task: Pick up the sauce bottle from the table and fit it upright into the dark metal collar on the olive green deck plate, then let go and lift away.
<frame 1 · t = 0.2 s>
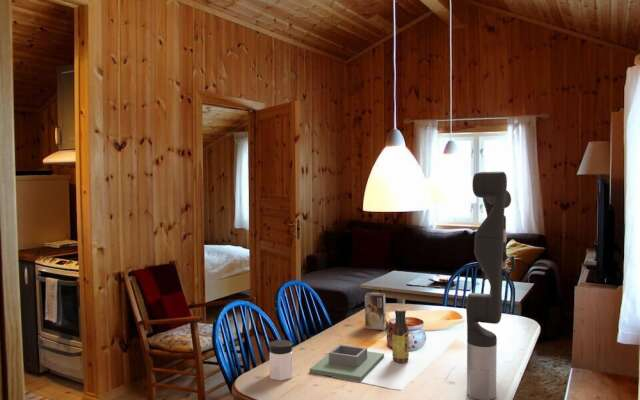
hand: (496, 280, 213), 29 cm above the table, tool pointing down, fingers open, 8 cm apart
jar: (281, 376, 191), on the table
deck plate: (348, 364, 202), on the table
sauce bottle: (400, 361, 205), on the table
coffee box: (375, 328, 249), on the table
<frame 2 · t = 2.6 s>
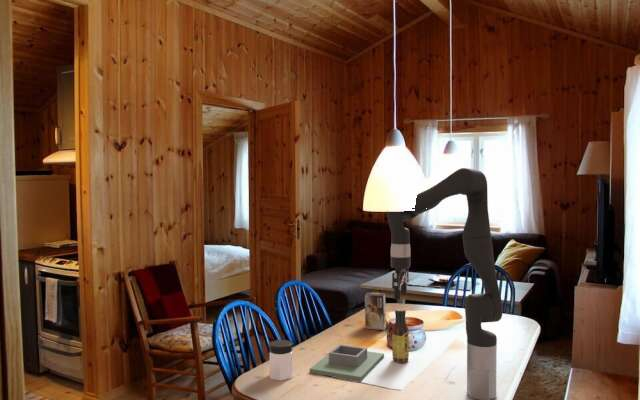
hand: (400, 296, 204), 25 cm above the table, tool pointing down, fingers open, 8 cm apart
nothing on the table moved.
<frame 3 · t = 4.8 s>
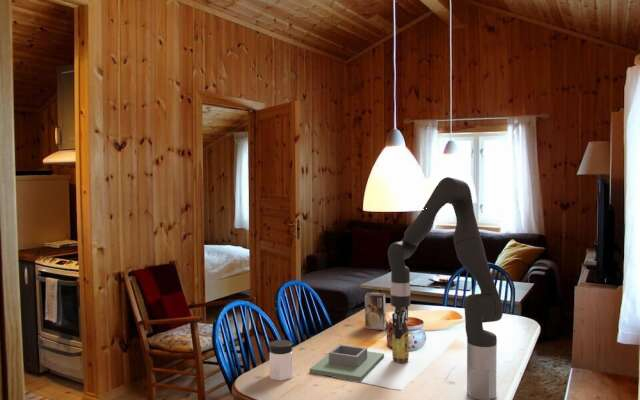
hand: (400, 336, 205), 10 cm above the table, tool pointing down, fingers closed on sauce bottle, 6 cm apart
sauce bottle: (400, 361, 205), on the table, touching gripper
everything else where it was.
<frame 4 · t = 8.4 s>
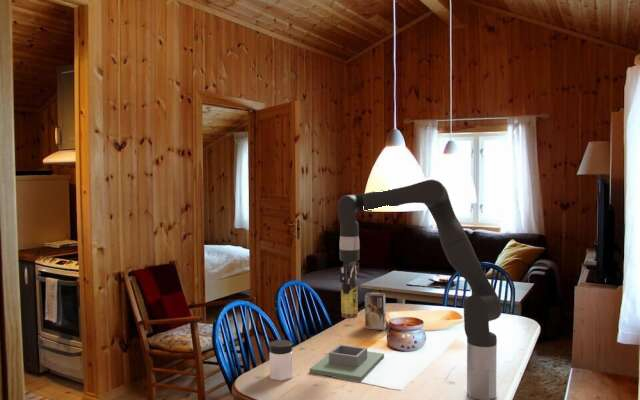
hand: (349, 291, 201), 28 cm above the table, tool pointing down, fingers closed on sauce bottle, 6 cm apart
sauce bottle: (349, 317, 201), point 18 cm above the table, touching gripper
everything else where it was.
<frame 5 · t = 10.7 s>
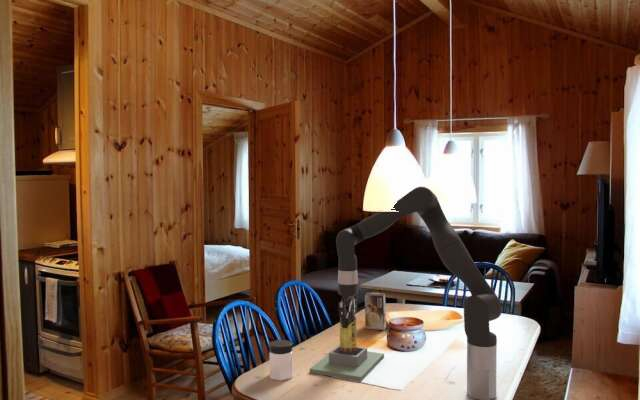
hand: (348, 325, 201), 15 cm above the table, tool pointing down, fingers closed on sauce bottle, 6 cm apart
sauce bottle: (348, 351, 201), point 5 cm above the table, touching gripper
everything else where it was.
when the fingers open (12 cm above the table, at t = 12.3 s): sauce bottle drops 1 cm, resting on deck plate.
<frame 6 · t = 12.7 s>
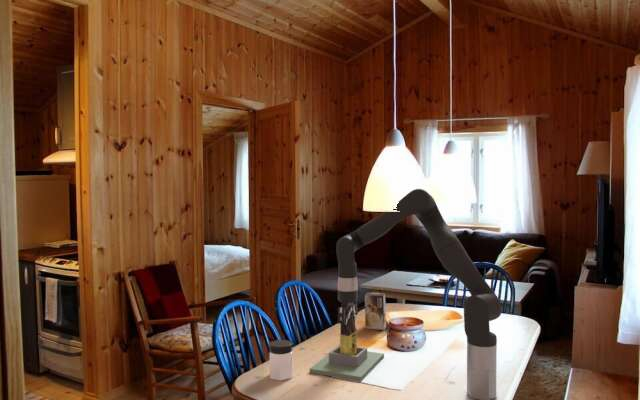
hand: (348, 330, 201), 13 cm above the table, tool pointing down, fingers open, 8 cm apart
sauce bottle: (348, 361, 201), point 1 cm above the table, touching deck plate
everything else where it was.
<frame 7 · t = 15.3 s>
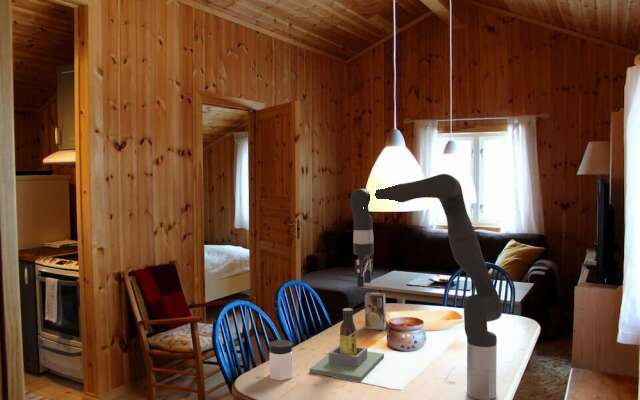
hand: (364, 284, 200), 31 cm above the table, tool pointing down, fingers open, 8 cm apart
nothing on the table moved.
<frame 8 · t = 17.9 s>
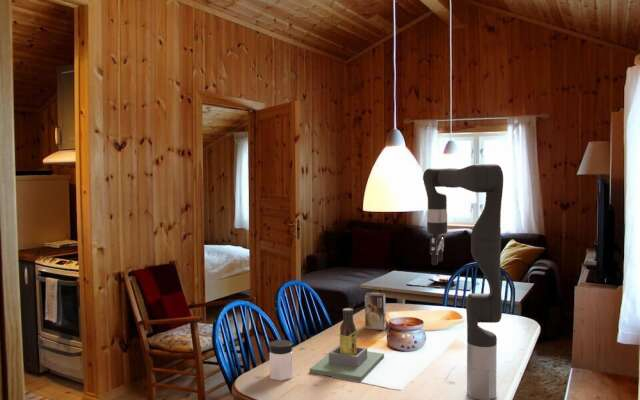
hand: (437, 263, 202), 38 cm above the table, tool pointing down, fingers open, 8 cm apart
nothing on the table moved.
at the end: sauce bottle 0.4 cm off-centre on the deck plate, point 1.3 cm above the deck plate's base; sauce bottle tilted 0°; the gripper is holding nothing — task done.
